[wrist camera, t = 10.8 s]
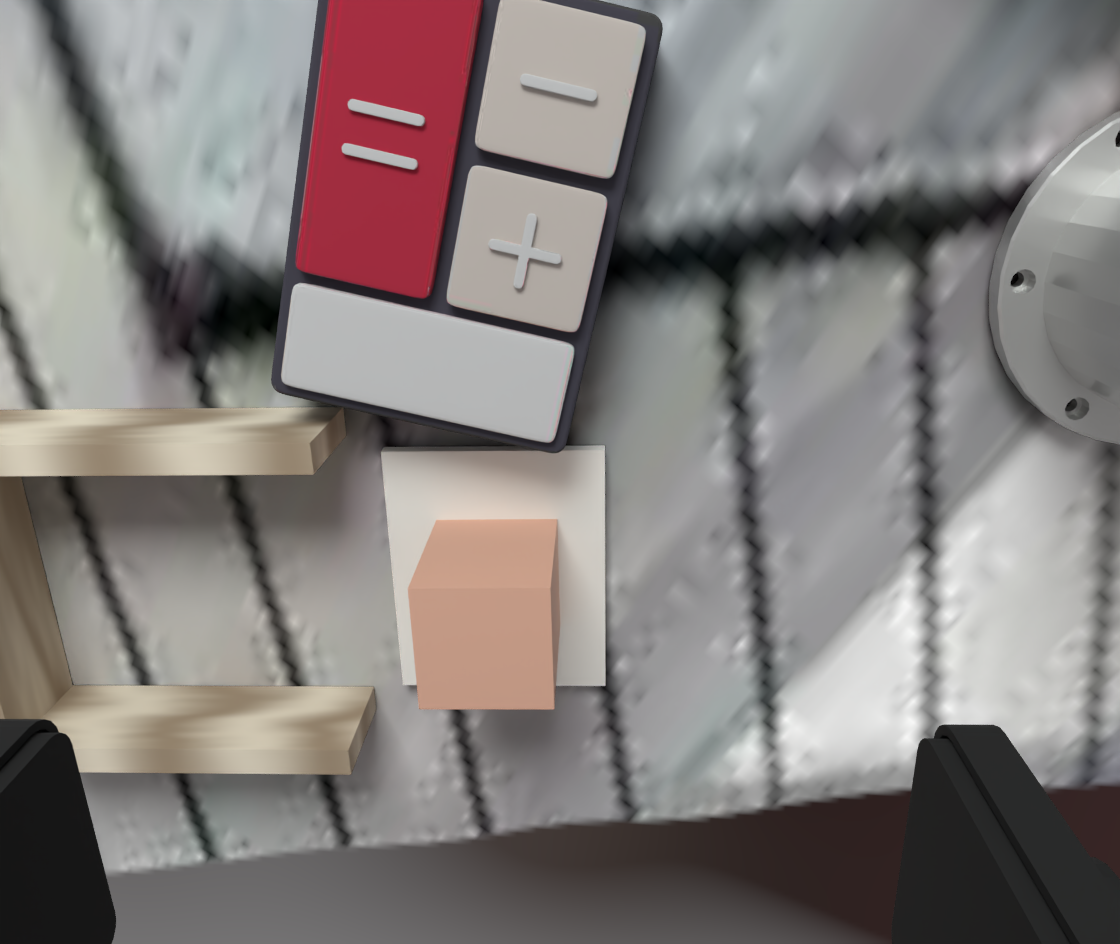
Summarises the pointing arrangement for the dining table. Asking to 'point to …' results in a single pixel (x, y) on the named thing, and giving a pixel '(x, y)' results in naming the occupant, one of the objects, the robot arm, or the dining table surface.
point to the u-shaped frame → (161, 711)
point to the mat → (507, 493)
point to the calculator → (459, 208)
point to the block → (487, 615)
